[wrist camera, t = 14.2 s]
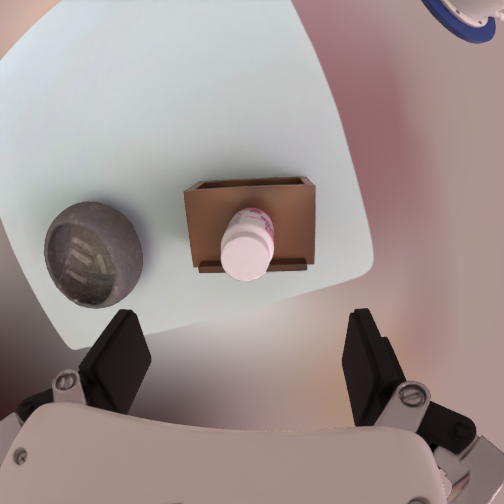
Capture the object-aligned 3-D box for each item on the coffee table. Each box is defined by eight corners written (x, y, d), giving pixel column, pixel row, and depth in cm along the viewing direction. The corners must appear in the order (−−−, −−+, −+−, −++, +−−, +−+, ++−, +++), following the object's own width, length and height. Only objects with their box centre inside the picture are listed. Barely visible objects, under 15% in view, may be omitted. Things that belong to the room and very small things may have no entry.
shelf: (306, 176, 35) (317, 188, 27) (307, 242, 38) (316, 270, 31) (198, 181, 36) (179, 194, 28) (205, 245, 39) (190, 273, 32)
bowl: (142, 297, 44) (116, 334, 34) (71, 258, 42) (37, 285, 33) (168, 217, 38) (139, 243, 29) (86, 178, 36) (44, 193, 27)
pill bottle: (282, 224, 30) (286, 256, 23) (255, 256, 32) (250, 296, 24) (247, 197, 29) (238, 220, 22) (220, 231, 31) (204, 264, 23)
